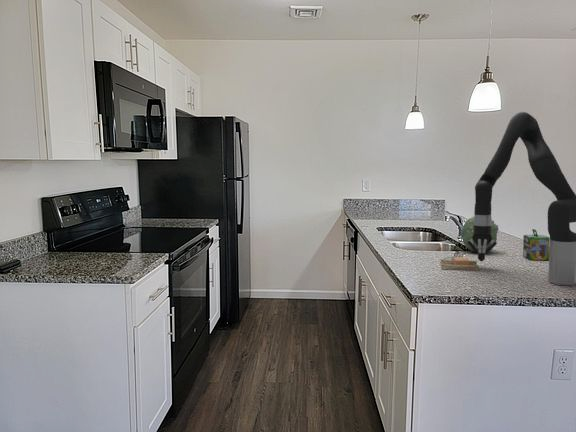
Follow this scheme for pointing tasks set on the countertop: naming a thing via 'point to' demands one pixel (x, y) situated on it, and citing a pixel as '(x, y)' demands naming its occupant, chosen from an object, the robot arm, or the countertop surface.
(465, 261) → the terracotta block
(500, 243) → the countertop surface
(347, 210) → the countertop surface
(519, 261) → the countertop surface
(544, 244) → the chalk box
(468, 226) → the cabbage
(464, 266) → the chute
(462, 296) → the countertop surface
